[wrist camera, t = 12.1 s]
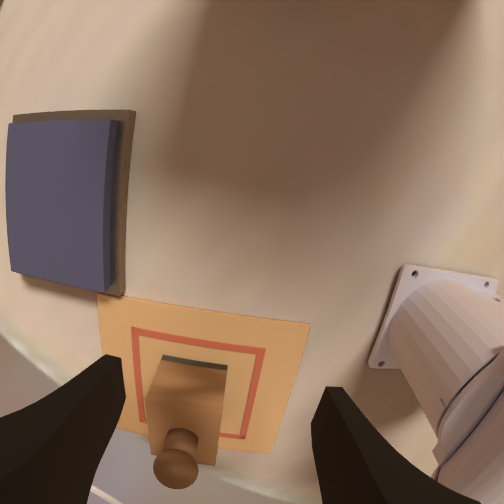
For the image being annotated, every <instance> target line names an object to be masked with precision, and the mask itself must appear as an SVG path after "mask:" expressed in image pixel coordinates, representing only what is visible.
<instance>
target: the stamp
mask: <svg viewBox="0 0 504 504" xmlns="http://www.w3.org/2000/svg"><path fill="white" fill-rule="evenodd" d="M227 369H228V365H223V364H216V363H209V362H203V361H196V360H190V359H185V358H179V357H174V356H168V355H163V356H162V358H161V361H160V363H159V366H158V368H157V371H156V373H155V376H154V378H153V381H152V383H151V386H150V388H149V391H148V393H147V396H146V399H145V406H146V416H147V424H148V433H149V440H150V448H151V454H152V455H157V458H156V459H155V461H154V466H153V469H154V473H155V476H156V478H157V479H158V480H159V482H161V483H162V484H163V485H165V486H166V487H169V488H173V489H183V488H186V487H188V486H190V485H191V484H193V483H194V482H195V480H196V478H197V475H198V466H197V463H199V464H205V465H213V466H215V462H216V455H217V448H218V441H219V434H220V427H221V419H222V412H223V403H224V395H225V386H226V378H227Z"/></svg>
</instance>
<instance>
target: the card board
mask: <svg viewBox="0 0 504 504" xmlns="http://www.w3.org/2000/svg"><path fill="white" fill-rule="evenodd" d="M97 306H98V317H99V327H100V336H101V344H102V352H103V356H104V355H105V354H108V355H112V356H116V357H120V358H121V360H122V369H123V377H124V385H125V393H126V400H125V403H124V406H123V410H122V413H121V416H120V419H119V421H118V424H117V426H116V428H119V429H123V430H127V431H131V432H135V433H139V434H143V435H147V436H149V433H148V424H147V416H146V406H145V399H146V396H147V393H148V391H149V388H150V386H151V383H152V381H153V378H154V376H155V373H156V371H157V368H158V366H159V363H160V361H161V358H162V356H163V355H168V356H174V357H179V358H185V359H190V360H196V361H203V362H209V363H216V364H223V365H228V369H227V378H226V386H225V395H224V403H223V412H222V419H221V427H220V434H219V441H218V449H226V450H235V451H245V452H256V453H271V450H272V447H273V444H274V441H275V439H276V436H277V433H278V430H279V427H280V424H281V421H282V418H283V415H284V412H285V409H286V406H287V403H288V400H289V397H290V394H291V390H292V387H293V384H294V381H295V378H296V374H297V371H298V368H299V364H300V361H301V357H302V354H303V351H304V347H305V344H306V340H307V337H308V333H309V329H310V325H309V324H308V323H299V322H290V321H281V320H273V319H265V318H257V317H249V316H242V315H235V314H228V313H221V312H214V311H207V310H201V309H195V308H188V307H182V306H176V305H170V304H165V303H159V302H153V301H148V300H142V299H137V298H132V297H127V296H122V295H120V296H116V295H111V294H106V293H101V292H98V293H97Z"/></svg>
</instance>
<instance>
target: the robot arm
mask: <svg viewBox="0 0 504 504" xmlns="http://www.w3.org/2000/svg"><path fill="white" fill-rule="evenodd" d="M413 271H416V273H415V275H413V276H412V272H413ZM485 283H486V284H485ZM484 284H485V285H484ZM498 284H499V283H498V280H497V279H495V278H491V277H485V276H479V275H473V274H467V273H461V272H455V271H449V270H443V269H436V268H430V267H424V266H418V265H412V264H406V265H404V266H403V267H402V268H401V270H400V272H399V276H398V279H397V282H396V285H395V288H394V291H393V295H392V298H391V301H390V303H389V306H388V309H387V312H386V315H385V318H384V321H383V323H382V326H381V329H380V331H379V334H378V337H377V339H376V342H375V345H374V347H373V350H372V352H371V355H370V357H369V360H368V365H369V367H370V368H372V369H401V371H402V373H403V374H404V376H405V378H406V380H407V382H408V383H409V385H410V387H411V389H412V391H413V393H414V394H415V396H416V398H417V400H418V402H419V404H420V405H421V407H422V409H423V411H424V413H425V415H426V417H427V419H428V421H429V423H430V425H431V426H432V428H433V430H434V432H435V434H436V436H437V438H438V442H437V445H436V446H435V448H434V449H433V451H432V452H433V454H434V456H435V458H436V460H437V462H438V465H439V466H437V468H436V469H435V471H434V472H433V474H432V476H431V477H429V476H428V475H426V474H425V473H423V472H422V471H420V470H419V469H418V468H416V467H415V466H414V465H412V464H411V463H410V462H409V461H408V460H407V459H405V458H404V457H403V456H402V455H401V454H400V453H398V452H397V451H396V450H395V449H394V448H393V447H392V446H391V445H390V444H389V443H388V442H387V441H386V440H385V439H384V438H383V437H382V436H381V434H380V433H379V432H378V431H377V430H376V429H375V428H374V427H373V425H372V424H371V423H370V422H369V421H368V419H367V418H366V417H365V416H364V415H363V413H362V412H361V411H360V410H359V408H358V407H357V406H356V404H355V403H354V402H353V401H352V399H351V398H350V397H349V395H348V394H347V393H346V392H345V390H344V389H343V388H342V387H326V388H325V390H324V393H323V395H322V398H321V400H320V403H319V405H318V408H317V410H316V412H315V415H314V417H313V420H312V422H311V436H312V449H313V454H314V459H315V465H316V470H317V475H318V480H319V485H320V491H321V496H322V503H323V504H504V300H503V299H502V298H501V297H499V296H498V295H497V294H495V293H496V291H497V288H498ZM381 361H382V362H381ZM379 362H381V363H379ZM125 400H126V393H125V385H124V377H123V369H122V360H121V358H120V357H116V356H112V355H108V354H105V355H104V356H102V357H101V358H100V359H98V360H97V361H96V362H94V363H93V364H92V365H90V366H89V367H88V368H86V369H85V370H84V371H82V372H81V373H80V374H78V375H77V376H75V377H74V378H73V379H71V380H70V381H68V382H67V383H66V384H64V385H63V386H61V387H60V388H58V389H57V390H55V391H54V392H52V393H50V394H49V395H47V396H46V397H44V398H42V399H40V400H39V401H37V402H35V403H33V404H31V405H29V406H27V407H25V408H23V409H21V410H19V411H16V412H14V413H11V414H9V415H6V416H3V417H1V418H0V504H87V500H88V496H89V492H90V489H91V485H92V482H93V478H94V475H95V472H96V470H97V467H98V465H99V463H100V460H101V458H102V456H103V454H104V452H105V450H106V447H107V445H108V443H109V441H110V439H111V437H112V435H113V432H114V430H115V428H116V426H117V424H118V421H119V419H120V416H121V413H122V410H123V406H124V403H125Z"/></svg>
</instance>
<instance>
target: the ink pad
mask: <svg viewBox="0 0 504 504" xmlns="http://www.w3.org/2000/svg"><path fill="white" fill-rule="evenodd" d="M135 115H136V112H135V111H131V110H76V111H56V112H41V113H30V114H20V115H13V123H10V124H9V126H8V137H7V151H6V220H7V235H8V246H9V255H10V264H11V271H13V272H16V273H20V274H24V275H28V276H32V277H36V278H40V279H44V280H48V281H52V282H56V283H61V284H65V285H69V286H74V287H78V288H83V289H87V290H92V291H97V292H101V293H106V294H111V295H116V296H120V295H121V294H122V293H123V292H124V291H125V238H126V211H127V193H128V179H129V168H130V157H131V147H132V138H133V130H134V122H135Z"/></svg>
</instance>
